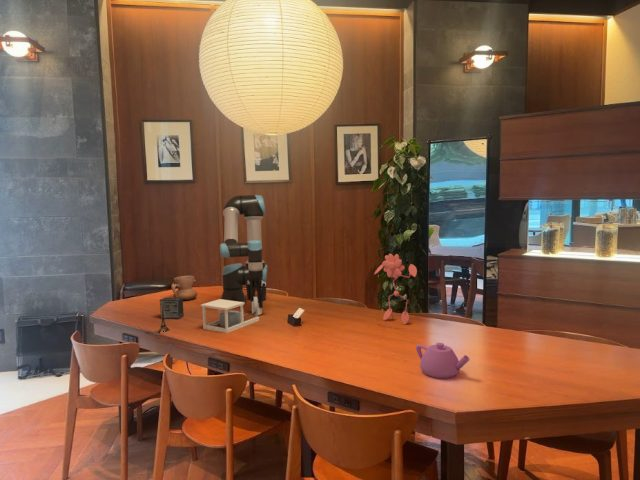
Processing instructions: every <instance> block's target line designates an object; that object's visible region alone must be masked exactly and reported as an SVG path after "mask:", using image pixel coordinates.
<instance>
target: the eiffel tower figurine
mask: <svg viewBox="0 0 640 480" xmlns="http://www.w3.org/2000/svg"><path fill="white" fill-rule="evenodd" d="M165 321H166V320H165V319H164V314H163V307H162V319H161V323H160V326H159V329H158V331H157V333H151V331H145V332H144V334H148V335H154V336H157V335H160V334H162V333H160V332H161V331H163V332H164V331H165V332H164V333H166V332H169V331H170V330H171V329H170V328H169V327H168V325H166V324H167V323H166V322H165Z"/></svg>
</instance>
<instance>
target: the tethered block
mask: <svg viewBox="0 0 640 480" xmlns="http://www.w3.org/2000/svg"><path fill="white" fill-rule="evenodd" d="M257 302H258V296H257V295H255V296H254V313H252V312H251V313H249V314H247V315H246V314H245V315H243V316H244V319H245V318H247V317H250V316H251V317H252V316H255V317H260V315H261V314H259V315H258V312H257ZM240 323H241V315H240V310H239V311H238V310H232V309H229V310H228V328H229V327H232V326H234V325H237V324H240ZM219 327H222V328H225V311H224V312H222V313H221V314H220V324H219Z"/></svg>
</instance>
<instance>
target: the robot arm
mask: <svg viewBox="0 0 640 480" xmlns="http://www.w3.org/2000/svg"><path fill="white" fill-rule="evenodd" d="M265 205H266V204H265V200H264V196H263V195H260V194H247V195H244V194H243V195H239V194H238V195H235V196H234V195H233V196H232V197H230V198H229V199H228V200H227V201H226V202H225V204H224V205H223V209H222V215H223V217H224V225H223V227H224V229H223V230H224V232H223V233H224V234H223V243H220V244H219V253H220V257H221V258H237V257H238V258H240V257H243V258H244V257H247V260H246V261H245V265H243V264H242V263H240V262H239V263H238V262H237V263H231V264H228V265H225V266H223V267H222V273H221V275H222V289H223V290H222V294H221V298H220V299H222V300H230V301H238V302H244V303H245V304H246V303H247V300H248V301H250V307H251V314H252V313H254V296H258V302H257V312H258V315H259V314H260V315H262V313H263V308H264V306H263V303H264V302H265V301H267V286H268V283H267V276H268V275H267V274H268V265H267V264H266V262H265V261H264V260H263V245H262V244H263V242H262V238H263V237H262V219H263V218H264V215H266V214H267V213H266V206H265ZM241 215H243V218H244V219H245V220H246V242H239V226H238V225H239V224H238V223H239V222H238V219H239V217H240V216H241ZM244 286H245V288H246V295H245V293H244V292H245V291H244V288H243V287H244ZM246 297H247V298H246ZM260 315H259V316H260Z"/></svg>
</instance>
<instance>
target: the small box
mask: <svg viewBox="0 0 640 480" xmlns="http://www.w3.org/2000/svg"><path fill="white" fill-rule="evenodd" d="M159 305H160V306H159V307H160V319H161V320H162V307H163V314H164V320H179V319H181V318H183V317H184V301H183V298H174V297H163V298H161V299H159Z"/></svg>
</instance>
